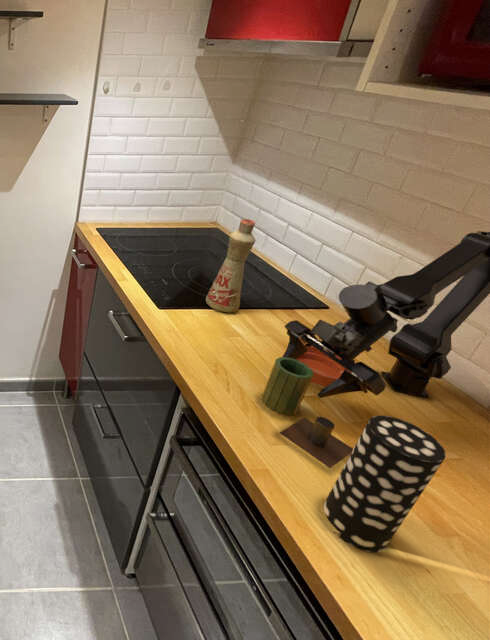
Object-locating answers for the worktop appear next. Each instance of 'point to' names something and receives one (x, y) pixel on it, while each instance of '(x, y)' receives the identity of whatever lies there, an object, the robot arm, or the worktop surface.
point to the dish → (321, 366)
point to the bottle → (232, 270)
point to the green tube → (286, 385)
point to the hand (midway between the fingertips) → (298, 380)
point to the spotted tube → (382, 481)
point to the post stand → (318, 440)
